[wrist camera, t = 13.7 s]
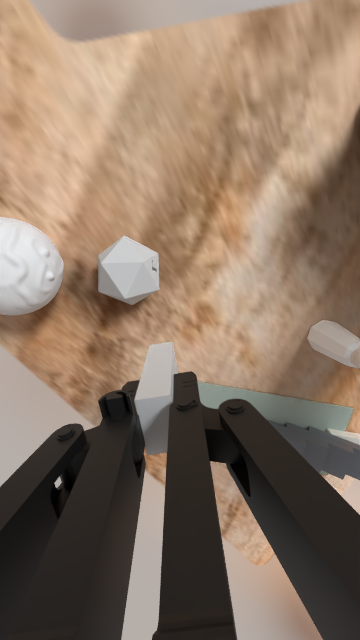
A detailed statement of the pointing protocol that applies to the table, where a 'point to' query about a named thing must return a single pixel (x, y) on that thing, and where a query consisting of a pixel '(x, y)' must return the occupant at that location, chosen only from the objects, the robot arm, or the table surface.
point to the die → (128, 271)
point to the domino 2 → (309, 447)
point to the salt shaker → (335, 342)
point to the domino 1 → (294, 441)
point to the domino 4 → (345, 435)
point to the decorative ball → (27, 268)
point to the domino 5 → (356, 468)
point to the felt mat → (281, 407)
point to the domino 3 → (331, 453)
